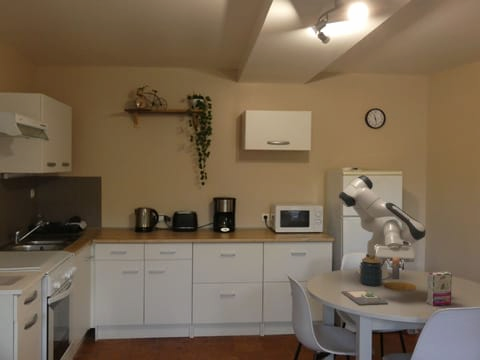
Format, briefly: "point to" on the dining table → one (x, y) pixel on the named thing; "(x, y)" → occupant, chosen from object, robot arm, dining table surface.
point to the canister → (371, 271)
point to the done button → (369, 293)
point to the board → (363, 298)
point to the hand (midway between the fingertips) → (396, 267)
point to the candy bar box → (439, 288)
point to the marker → (395, 268)
